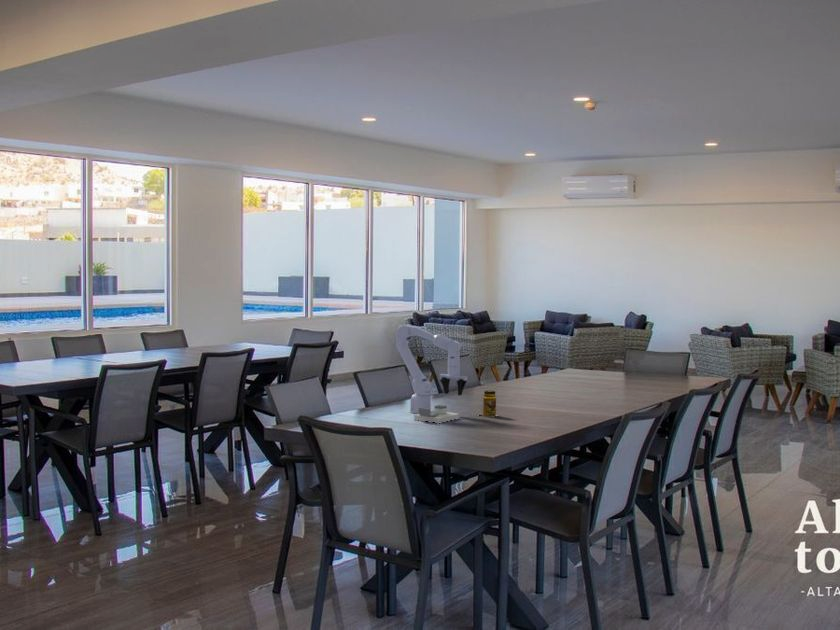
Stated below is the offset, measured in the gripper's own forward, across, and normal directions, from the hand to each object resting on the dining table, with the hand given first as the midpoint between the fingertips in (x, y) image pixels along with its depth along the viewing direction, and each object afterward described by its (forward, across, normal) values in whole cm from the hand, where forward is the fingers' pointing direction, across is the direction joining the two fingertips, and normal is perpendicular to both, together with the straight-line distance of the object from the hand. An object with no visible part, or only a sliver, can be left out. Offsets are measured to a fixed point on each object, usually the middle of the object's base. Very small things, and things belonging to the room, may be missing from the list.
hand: (453, 394), depth 402 cm
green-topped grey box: (+10, +1, -12) cm, 16 cm away
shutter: (+7, +1, -22) cm, 23 cm away
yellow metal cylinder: (+10, +14, +9) cm, 20 cm away
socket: (+10, +1, -15) cm, 18 cm away
